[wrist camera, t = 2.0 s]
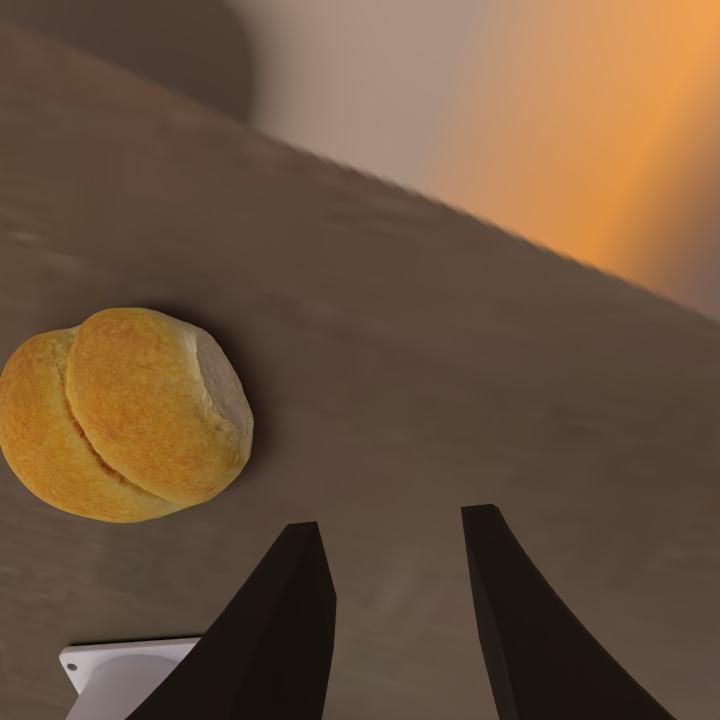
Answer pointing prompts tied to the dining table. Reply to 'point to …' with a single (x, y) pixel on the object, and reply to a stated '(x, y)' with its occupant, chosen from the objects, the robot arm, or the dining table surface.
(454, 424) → the dining table surface
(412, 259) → the dining table surface
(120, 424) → the bread roll
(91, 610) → the dining table surface
